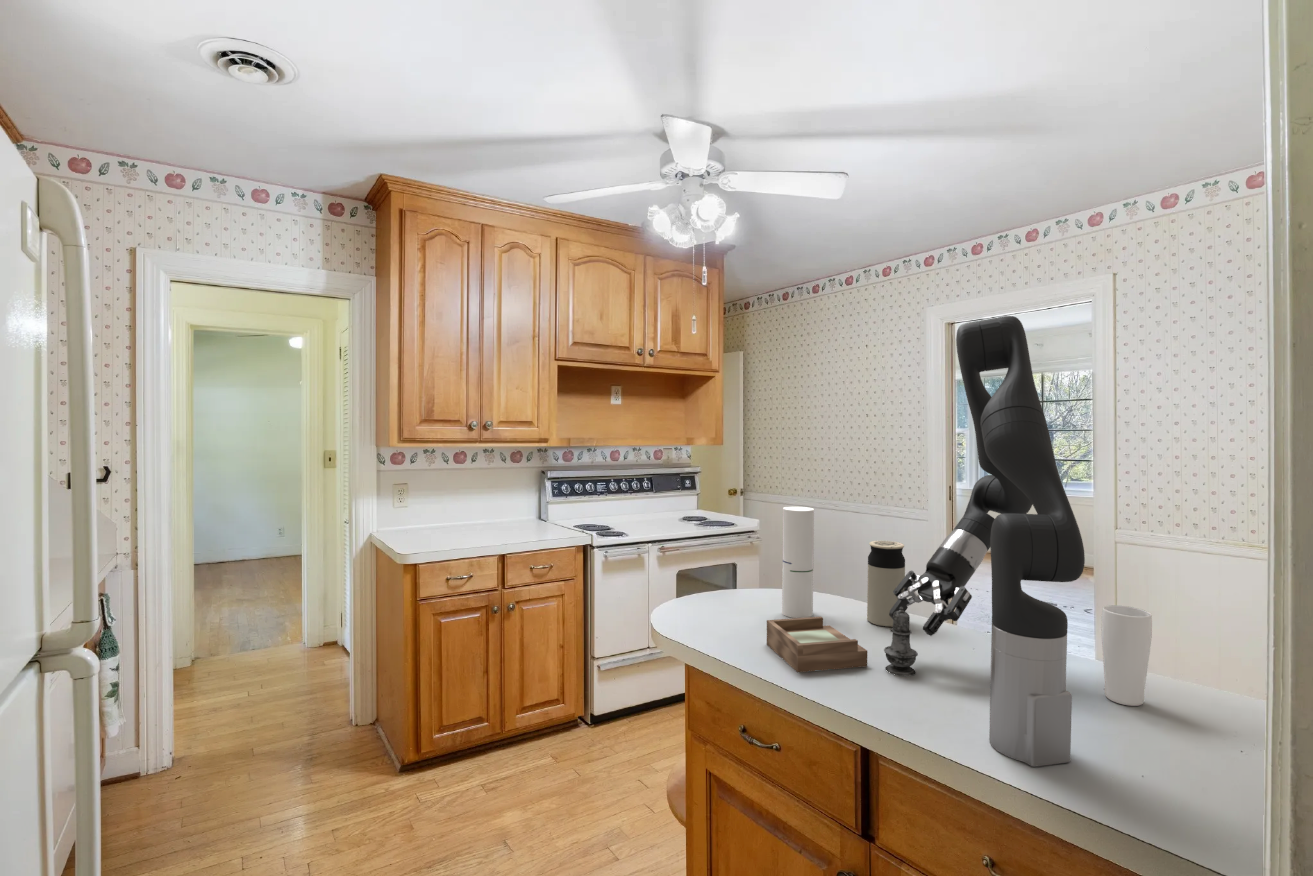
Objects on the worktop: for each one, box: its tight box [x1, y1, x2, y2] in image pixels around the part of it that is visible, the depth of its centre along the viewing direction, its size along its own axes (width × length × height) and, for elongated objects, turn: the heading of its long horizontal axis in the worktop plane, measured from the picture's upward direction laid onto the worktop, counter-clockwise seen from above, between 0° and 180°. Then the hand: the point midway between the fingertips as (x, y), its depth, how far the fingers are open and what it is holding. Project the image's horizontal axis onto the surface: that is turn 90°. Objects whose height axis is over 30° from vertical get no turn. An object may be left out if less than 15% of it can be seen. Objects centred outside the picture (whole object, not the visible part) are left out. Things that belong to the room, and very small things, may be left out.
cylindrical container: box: [781, 506, 815, 618], centre depth 154 cm, size 7×7×25 cm
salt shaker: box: [883, 606, 919, 677], centre depth 120 cm, size 6×6×12 cm
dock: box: [766, 616, 868, 673], centre depth 128 cm, size 15×14×5 cm
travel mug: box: [866, 540, 906, 628], centre depth 148 cm, size 8×8×18 cm
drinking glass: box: [1100, 604, 1153, 707], centre depth 107 cm, size 7×7×15 cm
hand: (909, 625), depth 121 cm, fingers open, 8 cm apart
